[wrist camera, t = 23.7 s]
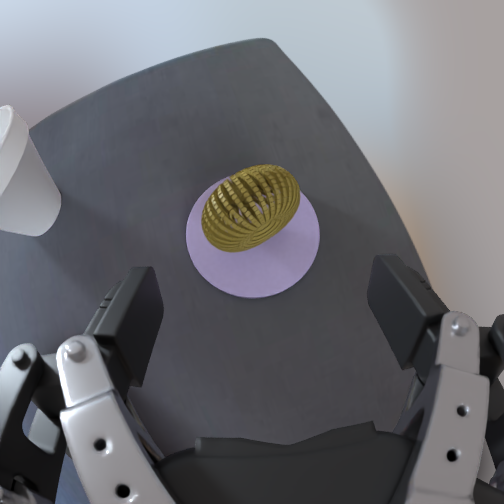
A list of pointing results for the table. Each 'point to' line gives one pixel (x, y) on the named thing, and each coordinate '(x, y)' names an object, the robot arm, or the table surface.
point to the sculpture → (250, 208)
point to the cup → (24, 180)
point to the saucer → (256, 254)
